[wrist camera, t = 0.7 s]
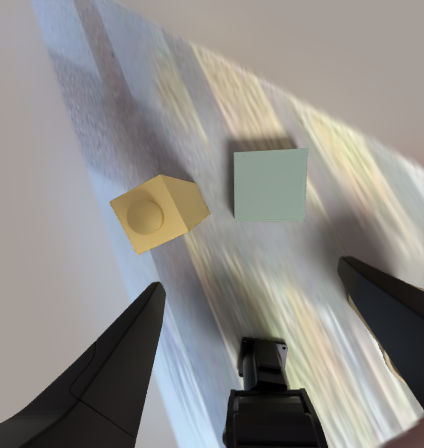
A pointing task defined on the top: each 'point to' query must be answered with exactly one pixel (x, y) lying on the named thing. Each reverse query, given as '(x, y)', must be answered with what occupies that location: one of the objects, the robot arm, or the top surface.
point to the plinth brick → (270, 185)
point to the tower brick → (159, 211)
